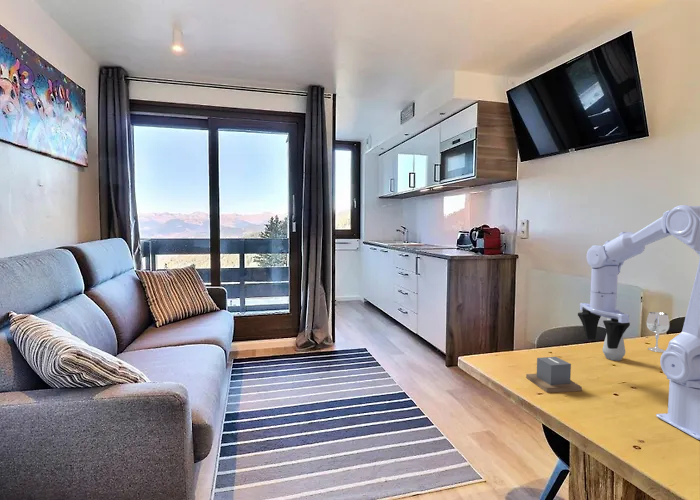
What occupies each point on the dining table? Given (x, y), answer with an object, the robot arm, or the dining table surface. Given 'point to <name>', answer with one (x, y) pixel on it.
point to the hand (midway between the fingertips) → (601, 343)
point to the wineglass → (657, 326)
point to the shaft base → (553, 388)
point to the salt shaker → (614, 350)
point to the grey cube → (553, 370)
